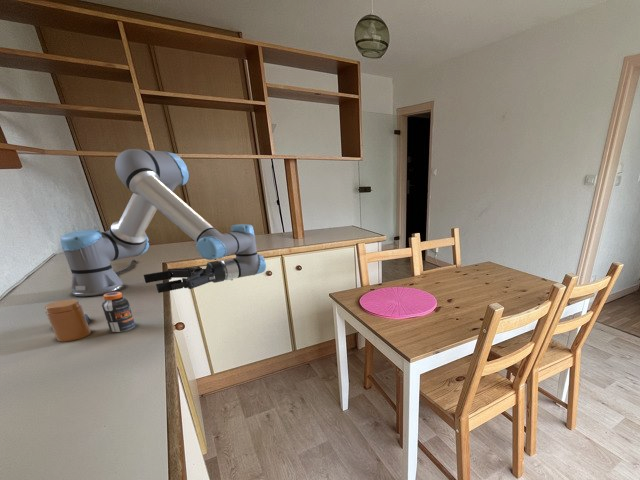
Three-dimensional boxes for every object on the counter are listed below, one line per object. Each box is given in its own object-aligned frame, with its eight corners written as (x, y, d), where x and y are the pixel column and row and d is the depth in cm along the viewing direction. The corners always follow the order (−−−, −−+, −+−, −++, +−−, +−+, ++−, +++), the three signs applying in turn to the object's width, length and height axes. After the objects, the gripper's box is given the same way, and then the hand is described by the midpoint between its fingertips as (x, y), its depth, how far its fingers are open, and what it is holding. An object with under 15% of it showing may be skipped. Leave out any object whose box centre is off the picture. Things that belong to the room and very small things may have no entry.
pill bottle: (121, 333, 92) (109, 298, 88) (105, 331, 93) (92, 296, 89) (140, 325, 98) (130, 291, 94) (125, 323, 99) (114, 289, 95)
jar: (62, 333, 92) (49, 301, 88) (94, 328, 95) (83, 297, 91) (52, 343, 86) (38, 310, 82) (86, 338, 89) (74, 305, 86)
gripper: (239, 288, 107) (166, 304, 92) (210, 273, 122) (143, 285, 107) (235, 267, 105) (160, 280, 89) (206, 254, 119) (137, 264, 104)
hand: (150, 283), depth 98 cm, fingers open, 13 cm apart
